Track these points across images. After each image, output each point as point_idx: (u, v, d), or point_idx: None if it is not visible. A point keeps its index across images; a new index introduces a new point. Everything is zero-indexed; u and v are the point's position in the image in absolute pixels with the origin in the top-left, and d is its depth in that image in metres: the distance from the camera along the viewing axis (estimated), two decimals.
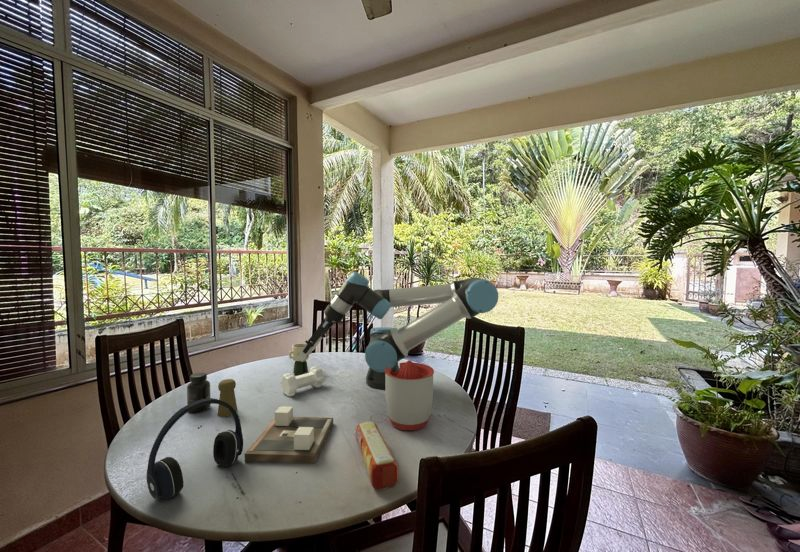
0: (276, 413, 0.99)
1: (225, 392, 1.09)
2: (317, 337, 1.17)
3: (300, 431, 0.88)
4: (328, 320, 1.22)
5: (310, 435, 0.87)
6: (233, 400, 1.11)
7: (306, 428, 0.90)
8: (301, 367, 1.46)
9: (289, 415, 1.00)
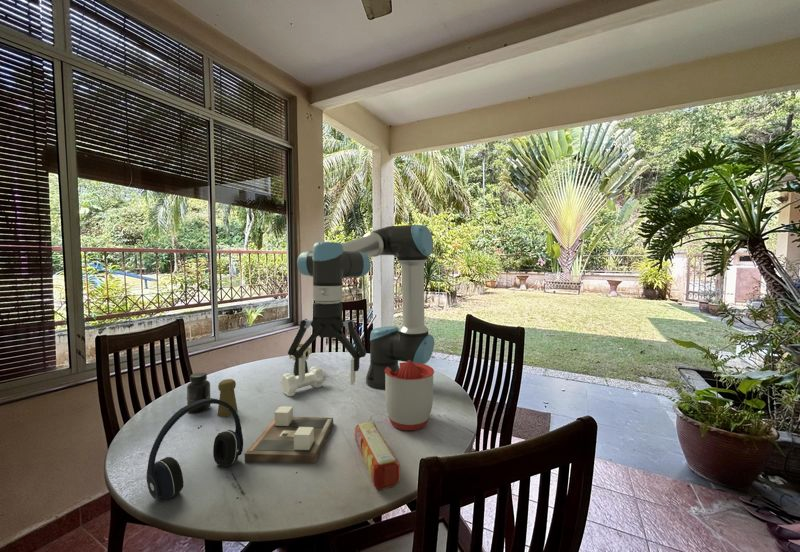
0: (276, 413, 0.99)
1: (225, 392, 1.09)
2: (360, 341, 0.88)
3: (300, 431, 0.88)
4: (341, 319, 0.87)
5: (310, 435, 0.87)
6: (233, 400, 1.11)
7: (306, 428, 0.90)
8: None
9: (289, 415, 1.00)
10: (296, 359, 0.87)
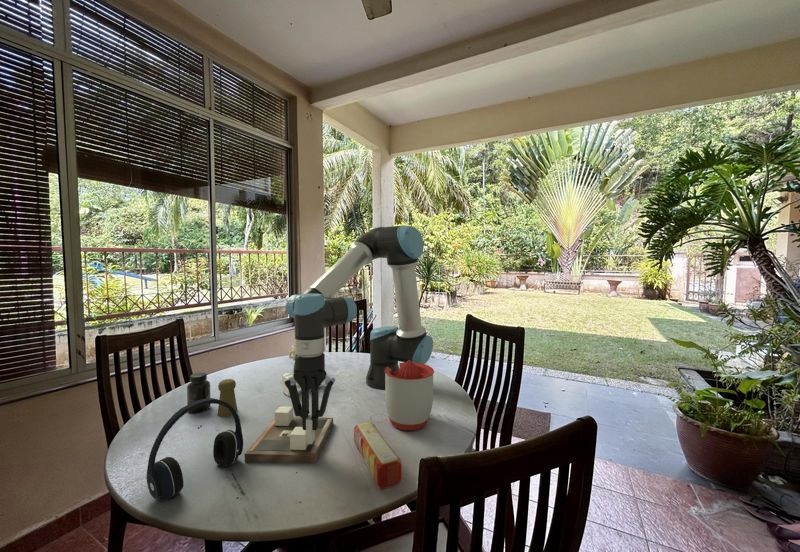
0: (276, 413, 0.99)
1: (225, 392, 1.09)
2: (327, 400, 0.88)
3: (296, 431, 0.88)
4: (324, 370, 0.87)
5: None
6: (233, 400, 1.11)
7: (302, 428, 0.90)
8: None
9: (289, 415, 1.00)
10: (303, 420, 0.87)
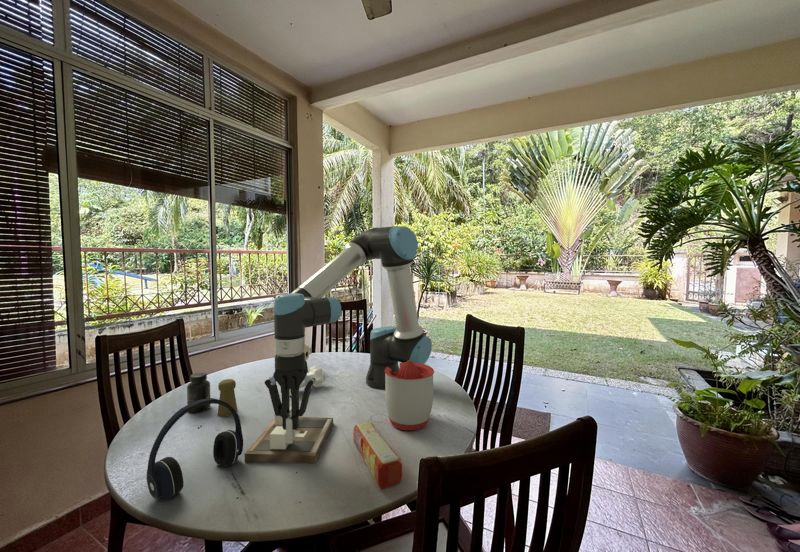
0: None
1: (225, 392, 1.09)
2: (307, 400, 0.89)
3: (276, 430, 0.88)
4: (304, 370, 0.87)
5: None
6: (233, 400, 1.11)
7: None
8: None
9: None
10: (283, 419, 0.87)
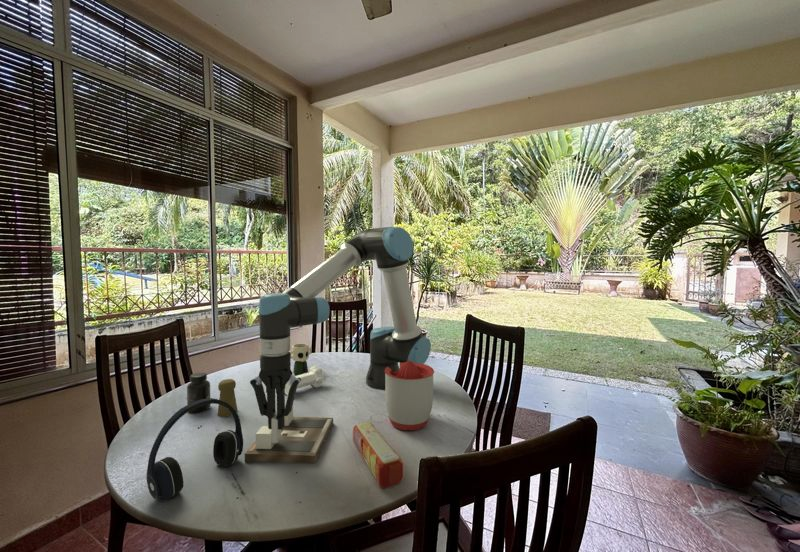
0: (276, 413, 0.99)
1: (225, 392, 1.09)
2: (293, 400, 0.89)
3: (262, 430, 0.88)
4: (289, 370, 0.87)
5: None
6: (233, 400, 1.11)
7: None
8: (301, 367, 1.46)
9: (289, 415, 1.00)
10: (269, 419, 0.88)
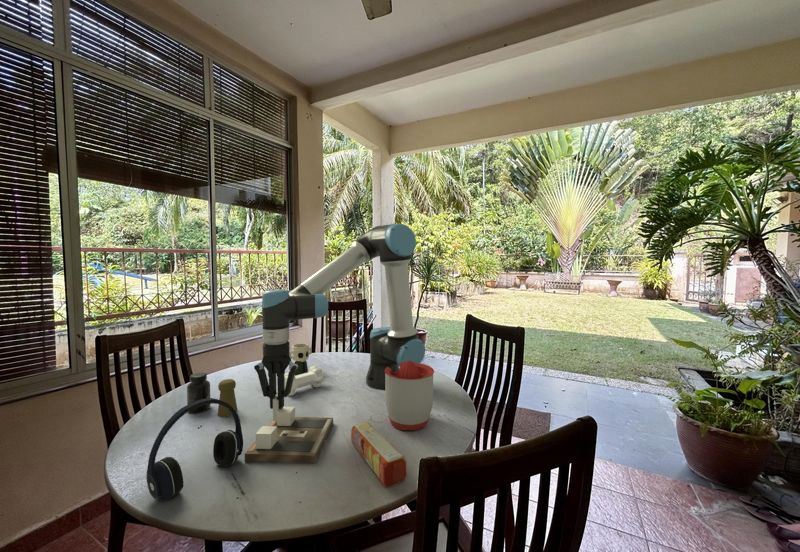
0: (278, 413, 0.99)
1: (225, 392, 1.09)
2: (292, 383, 1.01)
3: (262, 430, 0.88)
4: (288, 357, 1.00)
5: (272, 434, 0.88)
6: (233, 400, 1.11)
7: (269, 427, 0.90)
8: (301, 367, 1.46)
9: (291, 415, 1.00)
10: (270, 400, 1.00)
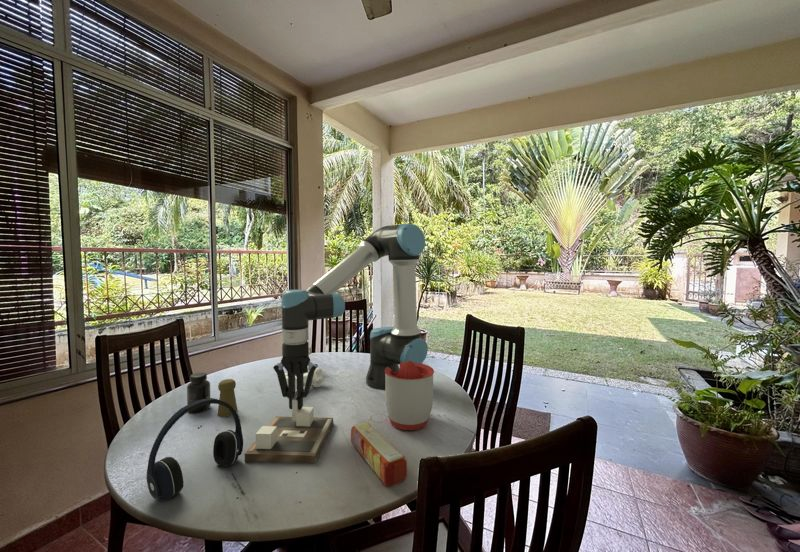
0: (298, 414, 0.98)
1: (225, 392, 1.09)
2: (311, 383, 1.01)
3: (262, 430, 0.88)
4: (307, 357, 1.00)
5: (272, 434, 0.88)
6: (233, 400, 1.11)
7: (269, 427, 0.90)
8: None
9: (310, 415, 0.99)
10: (290, 400, 1.00)
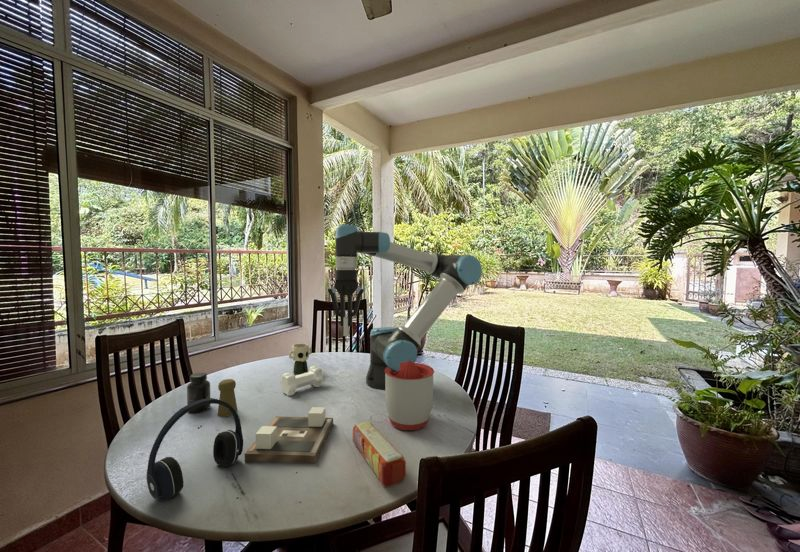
0: (310, 414, 0.98)
1: (225, 392, 1.09)
2: (358, 305, 1.19)
3: (262, 430, 0.88)
4: (356, 282, 1.18)
5: (272, 434, 0.88)
6: (233, 400, 1.11)
7: (269, 427, 0.90)
8: (301, 367, 1.46)
9: (322, 415, 0.99)
10: (341, 318, 1.18)
